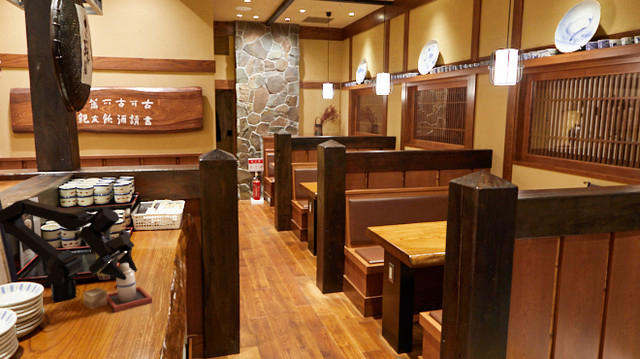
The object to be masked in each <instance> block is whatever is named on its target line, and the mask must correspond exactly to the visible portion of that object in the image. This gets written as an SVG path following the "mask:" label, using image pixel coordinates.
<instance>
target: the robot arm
mask: <svg viewBox="0 0 640 359" xmlns="http://www.w3.org/2000/svg"><path fill="white" fill-rule="evenodd" d="M24 215H28V216H32V217H35V218H36V217H37V218H41V219H43V220H46V221H47V220H48V221H52V222H54V223H57V225H58V226H60V227H61V228H64V229H66V230H68V231H75V232H74V238H73V240H74V242H77V241H79V240H82V241H83V242H85V244H86V245H87V246H88V247H89V248H90V250H89V252H90V253H91V254H93V253H95V255H96V254H97V255H98V256H99V258H98V259H97V260H96V259H95V260H94V262H92V263H91V264H90V265H89V267H88V269H89V272H90V273H91V274H92V275H95V274H96V273H97V272H99V269H101V271H100V272H99V273H100V274H101V273H103V274H106V275H110V276H113V278H115V279H116V278H119V279H122V280H125V279H126V278H127V277H126V276H125V274H124V273H123V272H122V271H121V270H120V266H118V264H117V263H119V265H120V264H122V263H129V268H131V269H132V270H134V272H135V273H136V272H138V268H137V266H136V264H135V262H134V259H133V257H132V252H133V248H134V247H135V243H133V242H132V241H131V236H132V234H131V233H129V232H128V231H127V230H126V229H124V230H122V231H120V232H118V235H117V236H115V237H112V236H111V235H110V236H108V237H106V236H105V235H104V234H103V233H102V232H107V231H108V230H109V229H110V228H111V229H112V228H113V227H114V226H115V224H116V223H118V222H119V220H120V215H119V214H118V213H117V212H116V211H115V210H113V209H111V208H108V207H106V206H105V205H103V206H101V207H99V209H97V210H96V211H95V213H90V212H88V211H87V210H85V209H80V208H79V209H78V208H62V207H57V206H54V205H49V204H46V203H41V202H39V201H34V200H31V199H29V198H23V199H19V200H16V201H14V202H13V203H11V204H10V205H9V206H6V207H5V208H2V209H1V210H0V223H2V224H3V228H4V231H5V233H6V235H9V236H12V237H14V239H16V240H17V241H19V243H21V244H22V245H23V246H25V247H26V248H27V249H29V250H30V251H31V252H33V253H34V254H35V255H36V256H38V257H39V258H40V259H42V260H43V261H44V262H45V263H46V266H47V269H48V271H49V272H50V273H49V274H48V275H46V276H45V278H44V279H45V282H46V285H50V288H51V294H50V298H51V300H52V301H53V302H54V303H58V302H63V301H67V300H72V299H76V298H77V295H76V294H77V283H76V281H75V279H74V277H76V276H77V275H78V272H79V271H80V270H81V267H82V264H81V259H80V258H78V257H79V256H78V255H77V254H74V253H73V252H72V251H71V249H70V250H69V249H66V250H64V251H61V250H59V249H57V248H55V247H54V245H52V244H51V243H50V242H48V241H47V240H46V239H44V238H43V237H41V235H39V234H38V233H37V232H35V231H34V230H33V229H32V228H30V227H29V226H27V225H26V223H25V220H24V217H23V216H24ZM88 224H89V225H88ZM81 228H82V229H81ZM78 229H81V230H78ZM77 230H78V231H77ZM5 233H4V234H5ZM113 259H114V260H113ZM117 259H118V260H117ZM96 275H97V274H96Z"/></svg>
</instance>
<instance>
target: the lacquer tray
mask: <svg viewBox="0 0 640 359" xmlns="http://www.w3.org/2000/svg"><path fill="white" fill-rule="evenodd" d="M136 295H137V297H136V299H134V300H132V301H129V302H120V301H119V300H118V291H116V292H111V293H107V305H108V306H109V307H110V308H111V310H112V311H113V312H114V313H118V312H121V311H122V312H123V311H125V310H130V309H133V308H136V307H141V306H145V305H149V304H152V303H153V297H152V296H151V295H149V293H147V291H145V289H143V287H141V286H136Z"/></svg>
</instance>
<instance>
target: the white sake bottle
mask: <svg viewBox="0 0 640 359" xmlns="http://www.w3.org/2000/svg"><path fill="white" fill-rule="evenodd" d="M119 268H120V270H121V271H122V272H123V273H124V274H125V276H126V277H127V278H126V279H125V280H122V279H119V278H116V277H115V280H116V289H117V291H116V292H118V300H119V301H120V302H129V301H132V300H134V299H136V297H137V295H136V287H137V281H136V282H135V280H136V275H135V274H136V272H134V270H132V269H131V268H129V263H122V264H120V263H119ZM135 283H136V284H135Z"/></svg>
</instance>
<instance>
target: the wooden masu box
mask: <svg viewBox="0 0 640 359" xmlns="http://www.w3.org/2000/svg"><path fill="white" fill-rule="evenodd" d="M82 294H83V305H84V306H86V307H87V308H89V309H92V310H94V309H97V308H99V307H102V306H105V305H108V303H107V294H108V291H107V290H105V289H103V288H101V287H95V288H93V289H89V290H87V291H83V293H82Z"/></svg>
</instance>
